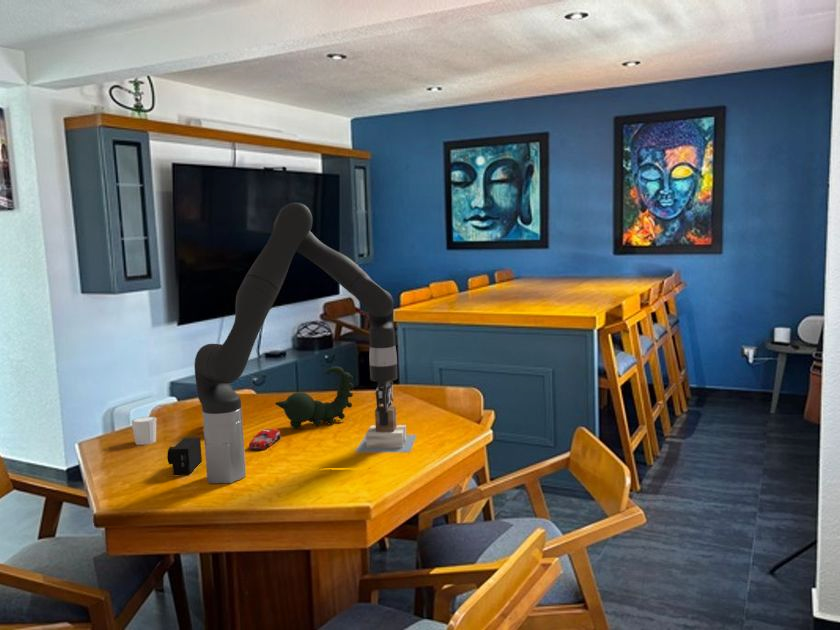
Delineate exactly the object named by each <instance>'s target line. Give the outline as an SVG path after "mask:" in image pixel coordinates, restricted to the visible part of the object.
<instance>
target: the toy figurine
mask: <svg viewBox="0 0 840 630" xmlns="http://www.w3.org/2000/svg"><path fill="white" fill-rule="evenodd" d="M333 373H334V374H336V375H338V376H340V377H339V378H340V381H339V382H338V387H339V388H338V389H337V390H336V396H335V397H334V400H333V401H331V402H322V401H320V400H317V399H316V400H314V399H313V397H312V396H311V395H310V394H309V393H306V392H301V391H298V392H294V393H292V394H290V395H289V396H287V398H286V399H285V400H281V401H276V402H275V405H276V406H278V407H280V409H282V410H283V411H284V414H285V416H286V417H287V419H288V420H290V421H289V424H290V427H292V428H293V429H295V430H298V429H300V428H301V427H302V423H305V422H309V423H313V425H315V426H316V427H317V426H320V425H321V424H322V422H324V423H327V424H328V425H333V424H334V419H336V418H338V419H340V420H343V419H345V417H346V415H345V413H344V409H346V408H352V407H353V403H352V402H351V401H350V400H349V398H353V397H354V393H353V392H351V390H350V389H351V388H353V387H354V384H353V383H351V381H352V380H353V378H354V377H353V375H351V374H350V373H349V372H348V371H347V372H346V371H344V369H343V368H342V367H341V366H337V365H336V366H332V367H330V368H328V369H327V370H326V373H325V374H326V375H330V374H333ZM349 401H350V402H349Z"/></svg>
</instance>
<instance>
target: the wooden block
mask: <svg viewBox="0 0 840 630" xmlns="http://www.w3.org/2000/svg"><path fill="white" fill-rule="evenodd" d="M396 425H397V427H396V429H395V430H394V432H376V424H375V425H370V427H369V428H368V430H367V431H366V432H365V436H366V447H367V448H403V446H404V444H405V441H406V439H407V438H406V435H407V424H404V425H403V424H399V425H398V424H396Z"/></svg>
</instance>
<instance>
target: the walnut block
mask: <svg viewBox="0 0 840 630" xmlns="http://www.w3.org/2000/svg"><path fill="white" fill-rule="evenodd" d="M381 407H384V406H383V405H381ZM374 418H375V419H374V420H375V425H376V432H394V430H395V429H396V427H397V425H398V424H397V406H396V405H392V406H388V425H387V426H381V425H380V418H379V412H377V407H376V409H374Z"/></svg>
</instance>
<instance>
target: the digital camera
mask: <svg viewBox="0 0 840 630" xmlns="http://www.w3.org/2000/svg"><path fill="white" fill-rule="evenodd" d="M201 442H202V441H201V437H199V436H196V437H193V436H192V437H183V438H182V439H181V440H180V441H178V443H177V444H176V445H174V446H170V447H169V448H168V450H167V455H166V456H167V458H166V459H167V462H168V464H169V465H172V473H173V474H172V475H179V476H190V475H189V474H193V473H194V472H195V470H196V469H197V468H198V467H199V466H200V465H201V464H202V463H201V462H203V457H202V444H201ZM200 463H201V464H200ZM199 464H200V465H199ZM198 465H199V466H198ZM197 466H198V467H197ZM196 467H197V468H196ZM195 468H196V469H195ZM194 469H195V470H194Z"/></svg>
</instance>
